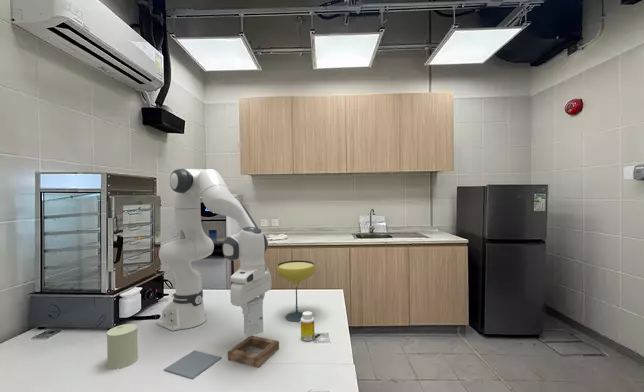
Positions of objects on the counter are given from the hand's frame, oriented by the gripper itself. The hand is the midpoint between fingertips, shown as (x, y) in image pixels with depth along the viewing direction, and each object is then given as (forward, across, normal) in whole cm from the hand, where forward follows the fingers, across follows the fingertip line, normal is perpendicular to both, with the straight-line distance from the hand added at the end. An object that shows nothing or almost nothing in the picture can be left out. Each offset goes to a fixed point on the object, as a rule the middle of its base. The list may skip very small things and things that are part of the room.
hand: (253, 309), depth 108 cm
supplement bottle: (+17, -18, +13) cm, 28 cm away
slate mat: (+17, +13, -16) cm, 26 cm away
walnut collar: (+16, 0, 0) cm, 16 cm away
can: (+17, +21, -41) cm, 49 cm away
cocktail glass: (+17, -35, -1) cm, 39 cm away
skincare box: (+9, 0, 0) cm, 9 cm away
